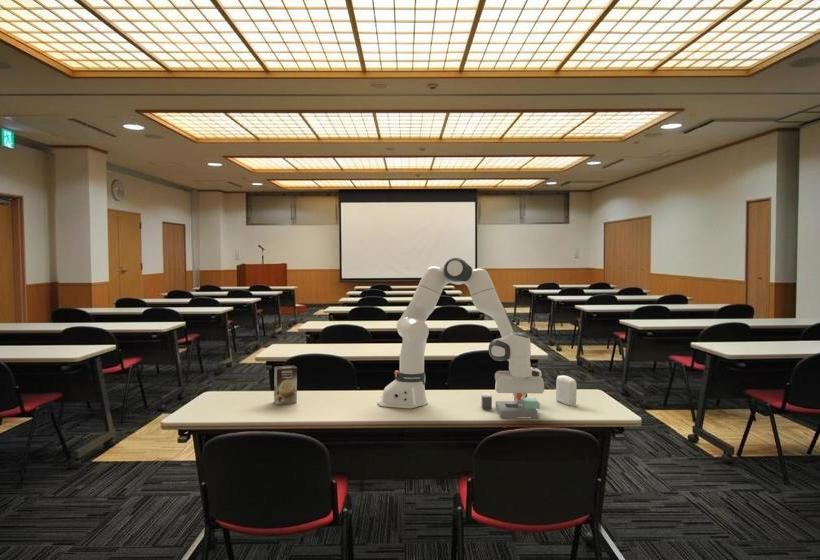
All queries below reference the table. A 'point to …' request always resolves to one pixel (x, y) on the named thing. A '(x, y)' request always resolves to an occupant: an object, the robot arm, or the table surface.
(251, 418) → the table surface
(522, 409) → the socket
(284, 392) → the coffee box
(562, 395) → the book
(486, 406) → the plug
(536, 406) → the mint green block
